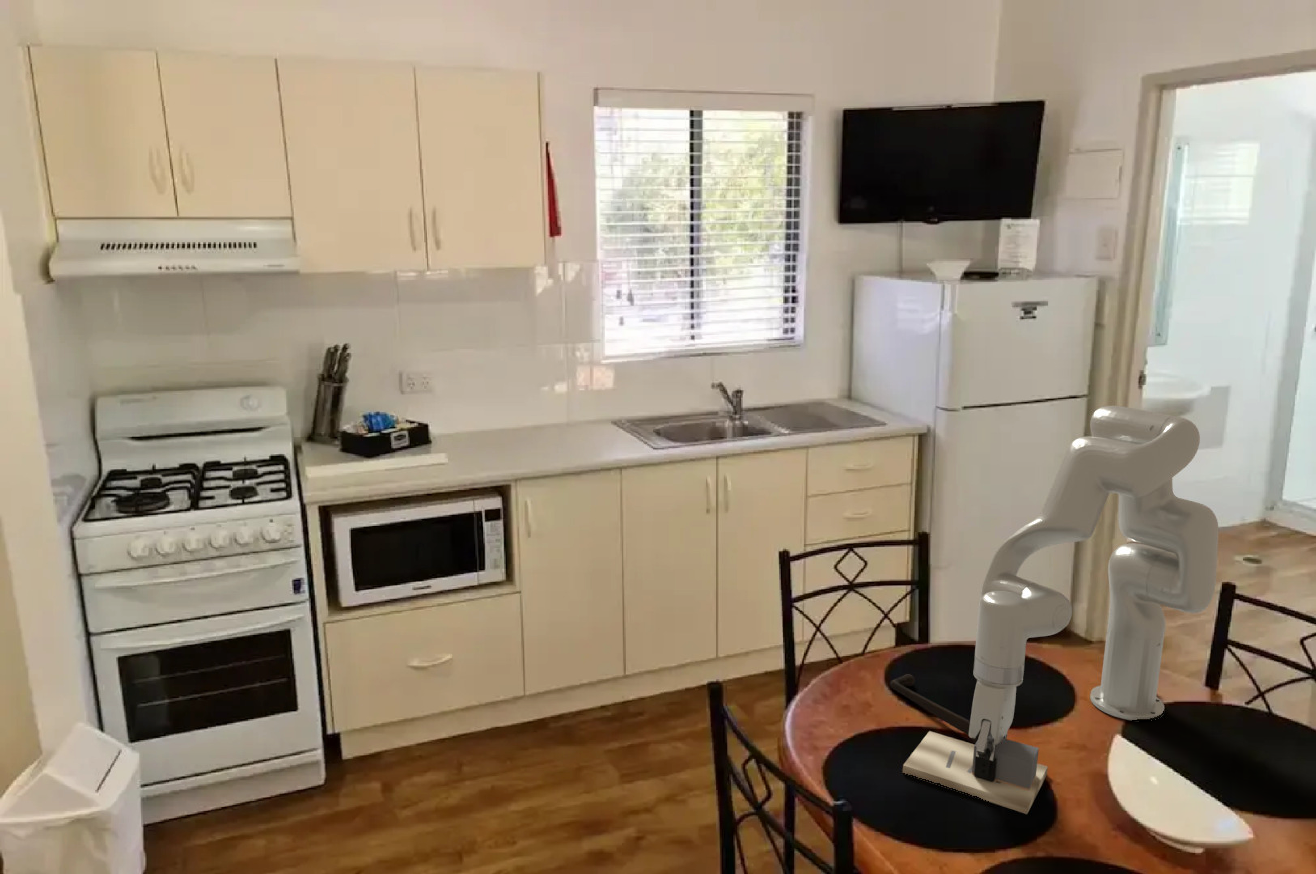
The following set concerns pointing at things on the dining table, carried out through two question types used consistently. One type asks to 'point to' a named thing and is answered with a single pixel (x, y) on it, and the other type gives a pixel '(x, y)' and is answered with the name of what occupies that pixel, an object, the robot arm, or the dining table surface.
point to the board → (966, 772)
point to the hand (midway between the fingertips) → (989, 768)
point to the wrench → (931, 705)
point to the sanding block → (1014, 763)
